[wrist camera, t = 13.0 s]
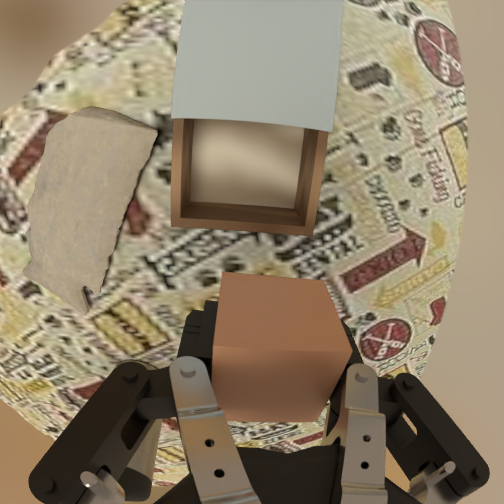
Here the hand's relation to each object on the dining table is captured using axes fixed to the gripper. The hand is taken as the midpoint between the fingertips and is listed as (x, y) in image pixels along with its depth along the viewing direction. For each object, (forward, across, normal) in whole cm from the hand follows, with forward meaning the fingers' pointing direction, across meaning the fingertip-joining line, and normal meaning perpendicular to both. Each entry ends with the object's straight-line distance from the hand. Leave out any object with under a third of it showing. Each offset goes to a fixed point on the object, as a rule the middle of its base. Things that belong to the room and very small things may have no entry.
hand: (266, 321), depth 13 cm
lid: (+12, +2, -16) cm, 21 cm away
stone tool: (+18, +20, +2) cm, 27 cm away
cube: (0, 0, 0) cm, 0 cm away
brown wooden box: (+18, +2, -7) cm, 20 cm away
